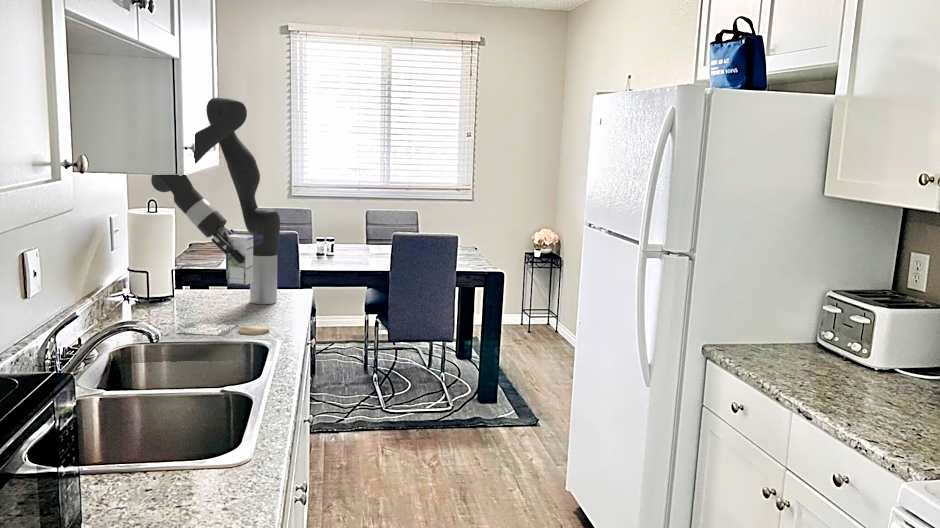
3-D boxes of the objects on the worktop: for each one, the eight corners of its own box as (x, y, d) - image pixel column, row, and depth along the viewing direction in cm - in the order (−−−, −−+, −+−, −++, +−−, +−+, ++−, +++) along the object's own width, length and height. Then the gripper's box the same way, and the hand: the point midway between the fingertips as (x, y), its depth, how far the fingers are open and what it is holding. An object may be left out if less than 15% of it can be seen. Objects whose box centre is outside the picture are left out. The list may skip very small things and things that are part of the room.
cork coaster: (243, 327, 225) (243, 325, 225) (272, 328, 226) (272, 326, 226) (234, 334, 217) (234, 332, 216) (265, 335, 217) (265, 333, 217)
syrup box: (253, 282, 222) (253, 234, 219) (245, 285, 216) (245, 236, 214) (235, 280, 222) (235, 233, 220) (227, 284, 216) (226, 235, 214)
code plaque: (192, 322, 228) (192, 322, 227) (237, 324, 228) (237, 324, 228) (174, 333, 214) (174, 333, 214) (223, 335, 214) (223, 335, 214)
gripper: (206, 211, 208) (248, 255, 210) (223, 207, 223) (262, 248, 225) (188, 229, 209) (229, 272, 211) (205, 224, 223) (244, 264, 225)
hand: (246, 259), depth 218 cm, fingers closed on syrup box, 6 cm apart
